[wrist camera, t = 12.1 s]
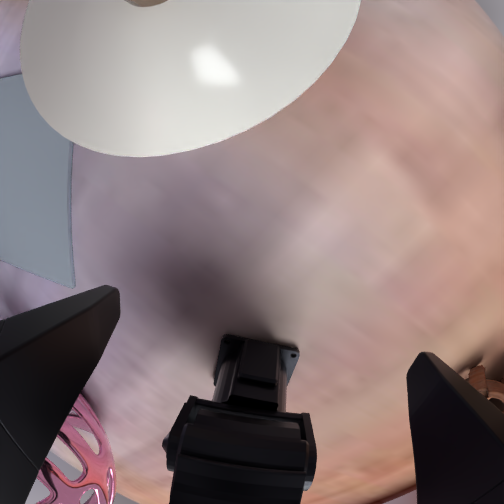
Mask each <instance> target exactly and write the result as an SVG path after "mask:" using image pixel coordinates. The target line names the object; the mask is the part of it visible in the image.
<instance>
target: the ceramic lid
mask: <svg viewBox="0 0 504 504" xmlns="http://www.w3.org/2000/svg"><path fill="white" fill-rule="evenodd" d="M360 3H361V0H30V1H29V3H28V6H27V9H26V13H25V16H24V20H23V25H22V31H21V38H20V62H21V71H22V75H23V79H24V83H25V87H26V89H27V92H28V94H29V96H30V99H31V101H32V103H33V104H34V106H35V107H36V109H37V111H38V112H39V114H40V115H41V116H42V117H43V118H44V120H45V121H46V122H47V123H48V124H49V125H50V126H51V127H52V128H53V129H54V130H56V131H57V132H58V133H59V134H61V135H62V136H63V137H65V138H67V139H68V140H70V141H72V142H74V143H75V144H77V145H79V146H82V147H85V148H87V149H90V150H93V151H96V152H100V153H105V154H110V155H114V156H126V157H150V156H164V155H169V154H174V153H179V152H185V151H190V150H194V149H198V148H201V147H204V146H208V145H211V144H214V143H218V142H221V141H224V140H226V139H229V138H231V137H233V136H236V135H238V134H241V133H243V132H245V131H248V130H249V129H251V128H253V127H255V126H257V125H258V124H260V123H262V122H264V121H266V120H268V119H270V118H271V117H273V116H274V115H276V114H277V113H278V112H280V111H281V110H283V109H284V108H286V107H287V106H288V105H290V104H291V103H293V102H294V101H295V100H296V99H297V98H298V97H300V96H301V95H302V94H303V93H304V92H305V91H306V90H308V89H309V88H310V87H311V86H312V85H313V84H314V83H315V82H316V81H317V79H318V78H319V77H320V76H321V75H322V74H323V73H324V71H325V70H326V69H327V68H328V67H329V66H330V64H331V63H332V62H333V60H334V59H335V57H336V56H337V54H338V53H339V51H340V50H341V48H342V47H343V45H344V44H345V42H346V41H347V39H348V36H349V34H350V32H351V30H352V28H353V25H354V23H355V21H356V18H357V15H358V11H359V7H360Z"/></svg>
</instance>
